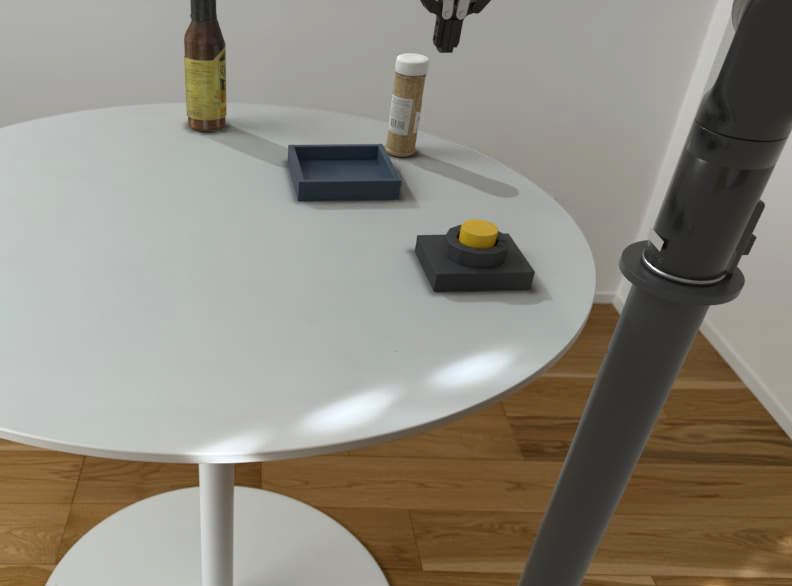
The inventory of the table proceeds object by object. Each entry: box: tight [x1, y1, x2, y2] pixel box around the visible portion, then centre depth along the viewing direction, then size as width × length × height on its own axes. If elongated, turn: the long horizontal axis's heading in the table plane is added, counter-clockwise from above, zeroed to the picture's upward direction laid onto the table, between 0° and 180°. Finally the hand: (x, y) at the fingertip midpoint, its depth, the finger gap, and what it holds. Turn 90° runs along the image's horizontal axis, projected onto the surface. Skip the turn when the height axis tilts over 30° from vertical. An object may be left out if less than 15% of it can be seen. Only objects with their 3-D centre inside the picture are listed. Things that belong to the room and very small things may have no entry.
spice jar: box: [384, 52, 430, 158], centre depth 112 cm, size 5×5×13 cm
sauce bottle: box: [183, 0, 227, 132], centre depth 117 cm, size 6×6×20 cm
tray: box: [286, 143, 403, 202], centre depth 108 cm, size 14×13×3 cm
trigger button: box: [459, 218, 499, 249], centre depth 87 cm, size 4×4×2 cm
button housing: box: [414, 224, 536, 292], centre depth 89 cm, size 11×9×4 cm
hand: (444, 50), depth 93 cm, fingers closed
